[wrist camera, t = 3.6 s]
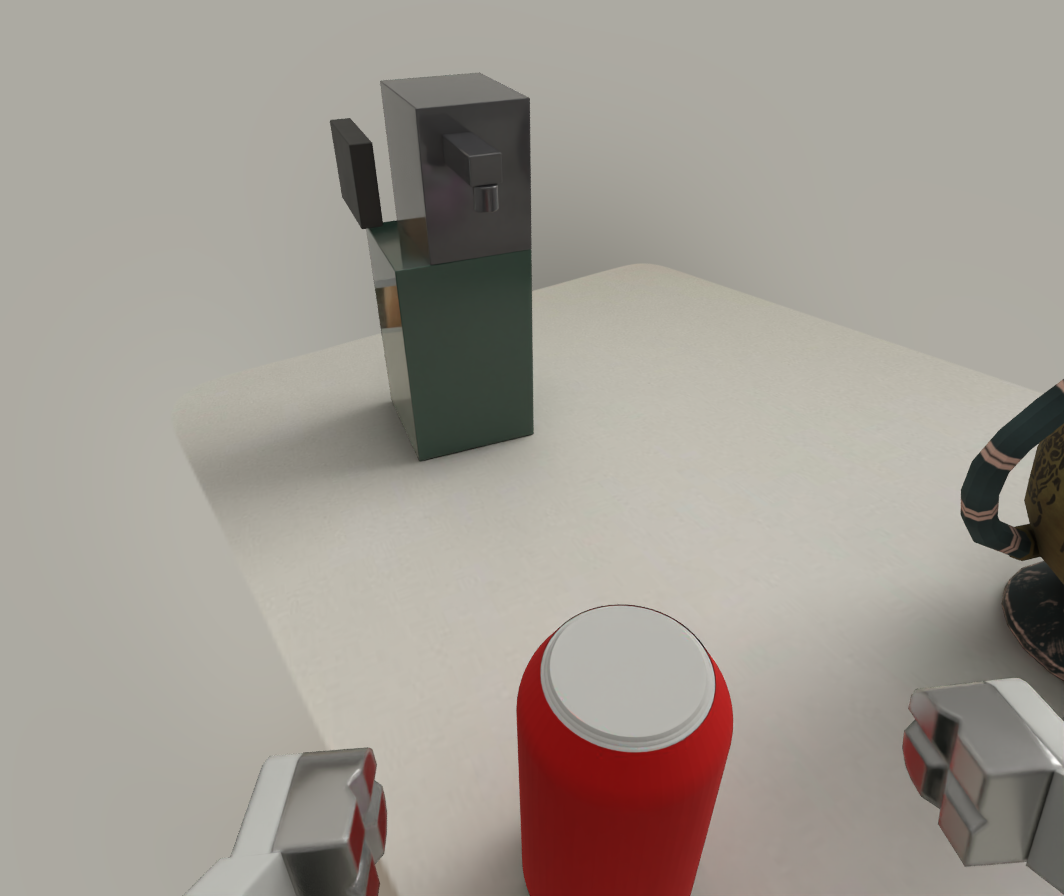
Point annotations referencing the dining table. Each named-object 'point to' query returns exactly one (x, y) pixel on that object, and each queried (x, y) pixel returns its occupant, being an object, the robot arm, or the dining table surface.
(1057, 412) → the teapot
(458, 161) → the dispenser
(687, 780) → the beverage can
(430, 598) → the dining table surface
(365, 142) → the plate
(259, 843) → the robot arm
